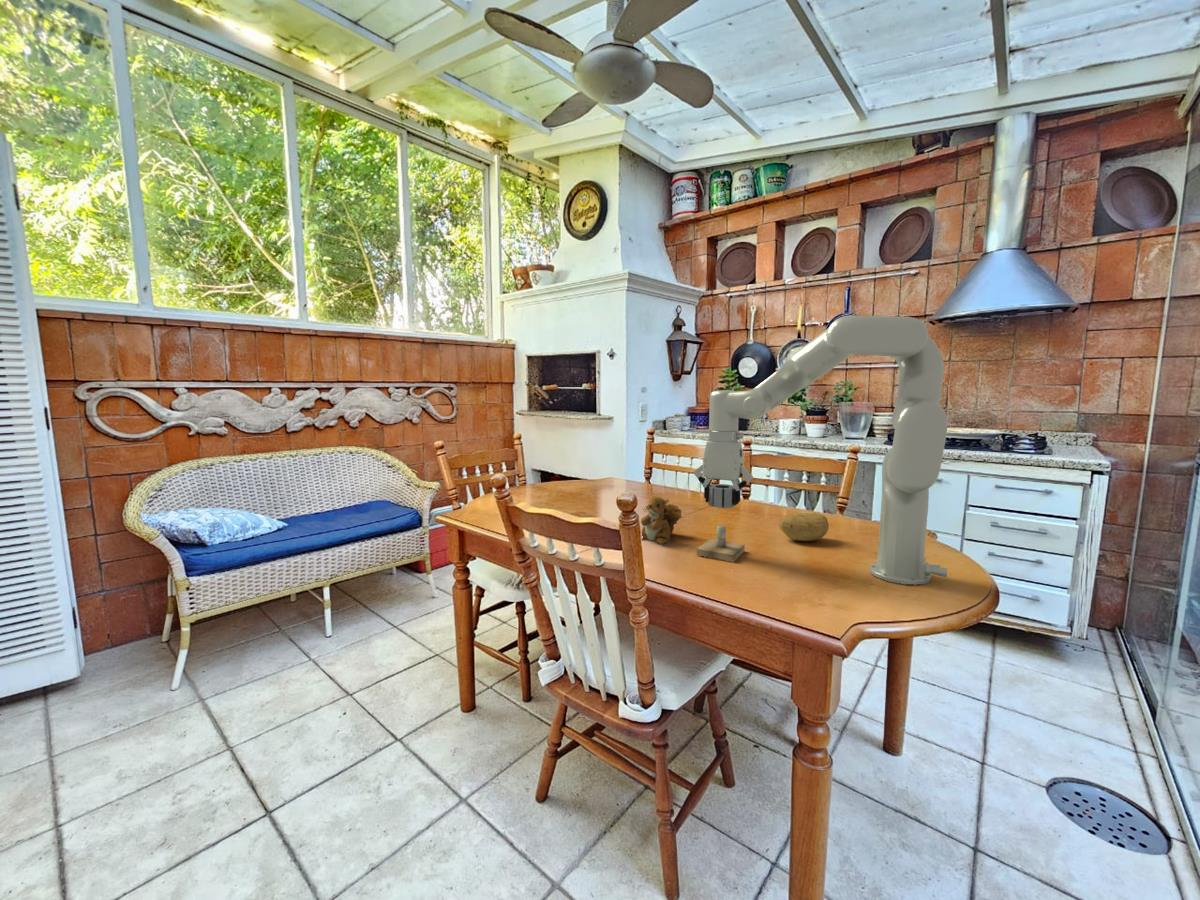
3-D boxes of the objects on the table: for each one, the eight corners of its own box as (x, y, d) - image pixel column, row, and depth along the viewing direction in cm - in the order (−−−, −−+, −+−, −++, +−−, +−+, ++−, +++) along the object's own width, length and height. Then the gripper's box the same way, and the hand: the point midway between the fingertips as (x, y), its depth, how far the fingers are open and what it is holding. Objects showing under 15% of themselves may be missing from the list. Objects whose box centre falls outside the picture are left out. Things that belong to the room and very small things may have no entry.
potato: (773, 535, 155) (774, 509, 154) (820, 535, 155) (821, 509, 154) (783, 545, 146) (784, 518, 145) (834, 545, 145) (835, 518, 144)
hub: (738, 503, 139) (738, 485, 138) (730, 509, 133) (730, 490, 133) (714, 500, 143) (714, 483, 142) (705, 505, 137) (705, 487, 136)
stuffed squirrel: (631, 539, 153) (631, 496, 151) (660, 529, 163) (660, 489, 161) (658, 546, 146) (658, 501, 144) (686, 535, 156) (687, 493, 154)
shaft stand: (744, 551, 141) (745, 525, 140) (733, 562, 133) (734, 534, 132) (709, 545, 147) (710, 520, 146) (696, 555, 138) (697, 528, 137)
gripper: (760, 437, 134) (758, 503, 136) (697, 434, 143) (696, 496, 146) (752, 440, 128) (750, 509, 130) (687, 436, 137) (686, 501, 139)
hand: (721, 502), depth 138 cm, fingers closed on hub, 6 cm apart
